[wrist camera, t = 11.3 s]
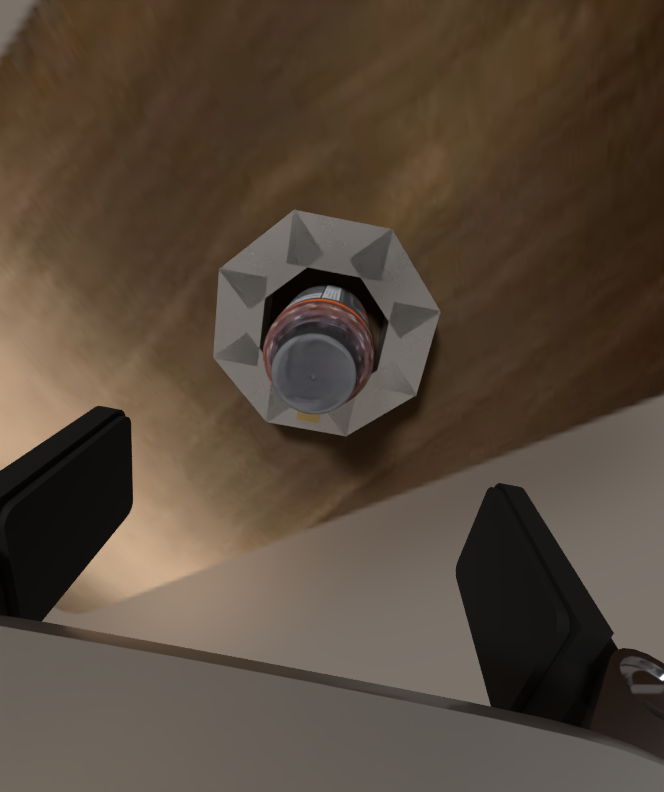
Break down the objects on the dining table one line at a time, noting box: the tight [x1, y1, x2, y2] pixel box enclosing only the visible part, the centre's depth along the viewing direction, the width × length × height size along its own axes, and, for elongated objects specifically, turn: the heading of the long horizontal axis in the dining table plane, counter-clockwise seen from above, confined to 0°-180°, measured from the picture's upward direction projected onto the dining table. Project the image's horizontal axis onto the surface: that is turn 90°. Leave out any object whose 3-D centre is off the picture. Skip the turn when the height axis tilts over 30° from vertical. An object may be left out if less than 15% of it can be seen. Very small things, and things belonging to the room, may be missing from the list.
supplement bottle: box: [263, 284, 374, 415], centre depth 23 cm, size 6×6×11 cm
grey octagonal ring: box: [213, 210, 440, 437], centre depth 27 cm, size 14×14×4 cm
